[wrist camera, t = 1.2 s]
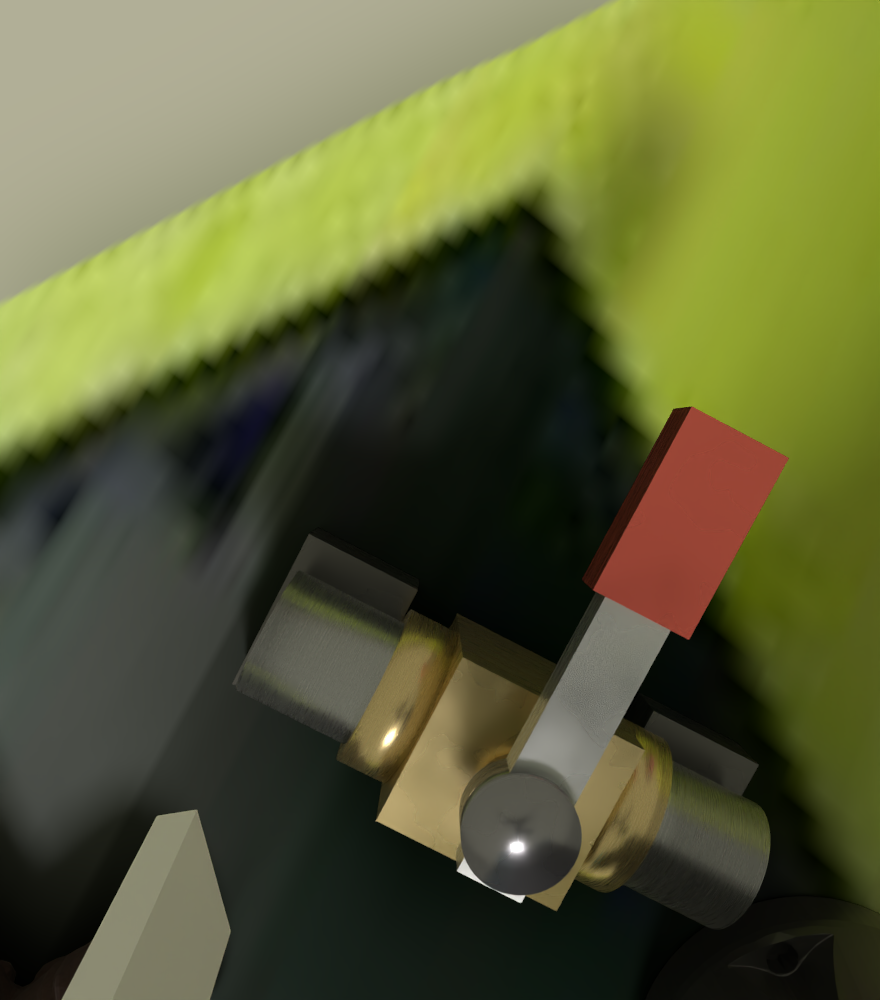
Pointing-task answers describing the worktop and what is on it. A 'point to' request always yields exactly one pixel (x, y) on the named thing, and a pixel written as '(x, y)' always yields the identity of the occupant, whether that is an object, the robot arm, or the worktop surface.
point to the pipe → (42, 978)
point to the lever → (615, 646)
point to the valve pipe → (499, 736)
